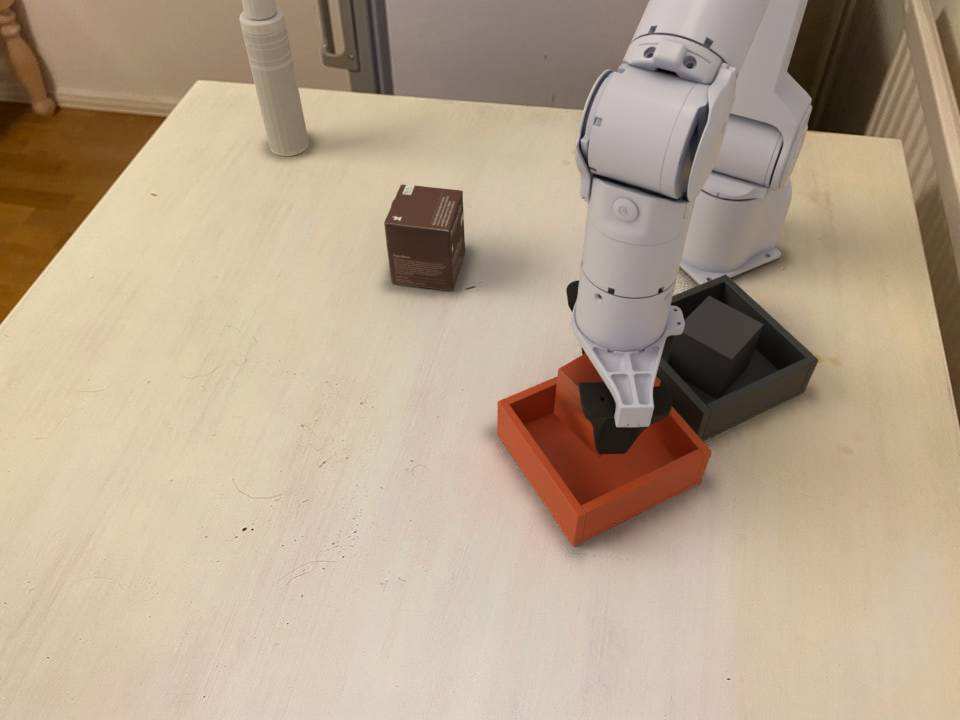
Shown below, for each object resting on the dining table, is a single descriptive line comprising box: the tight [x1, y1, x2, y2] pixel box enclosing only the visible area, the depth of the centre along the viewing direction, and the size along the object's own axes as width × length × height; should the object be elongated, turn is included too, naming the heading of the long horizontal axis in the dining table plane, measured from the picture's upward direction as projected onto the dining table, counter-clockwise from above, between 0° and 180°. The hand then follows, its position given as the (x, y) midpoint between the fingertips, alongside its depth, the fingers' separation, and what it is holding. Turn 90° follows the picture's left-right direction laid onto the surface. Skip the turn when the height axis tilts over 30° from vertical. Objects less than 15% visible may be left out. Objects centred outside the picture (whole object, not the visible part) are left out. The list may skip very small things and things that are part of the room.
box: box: [383, 184, 466, 291], centre depth 75 cm, size 6×6×7 cm
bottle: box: [238, 0, 310, 157], centre depth 84 cm, size 4×4×20 cm
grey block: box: [668, 296, 763, 399], centre depth 66 cm, size 5×5×5 cm
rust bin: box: [496, 376, 712, 547], centre depth 61 cm, size 11×11×4 cm
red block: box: [554, 353, 661, 458], centre depth 57 cm, size 5×5×5 cm
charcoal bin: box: [656, 274, 820, 442], centre depth 67 cm, size 11×11×4 cm
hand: (604, 407), depth 58 cm, fingers closed on red block, 7 cm apart
